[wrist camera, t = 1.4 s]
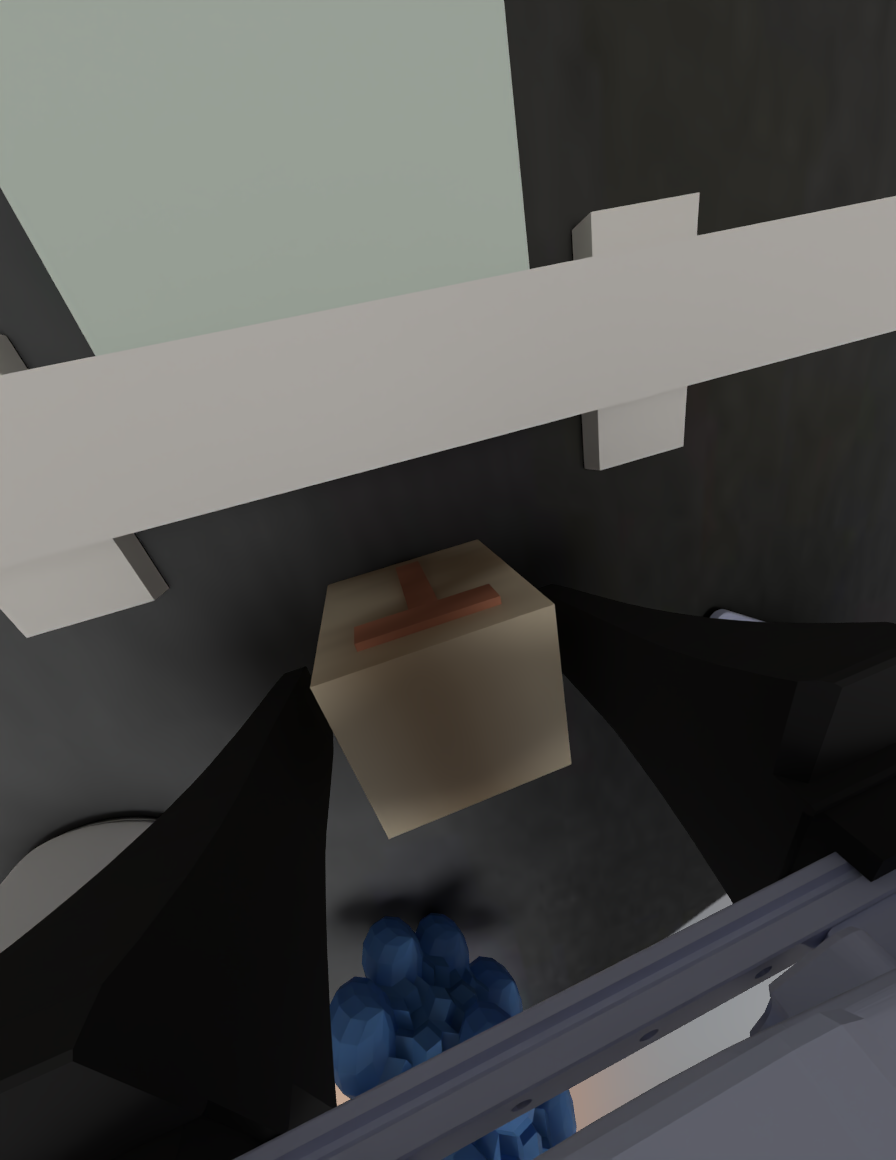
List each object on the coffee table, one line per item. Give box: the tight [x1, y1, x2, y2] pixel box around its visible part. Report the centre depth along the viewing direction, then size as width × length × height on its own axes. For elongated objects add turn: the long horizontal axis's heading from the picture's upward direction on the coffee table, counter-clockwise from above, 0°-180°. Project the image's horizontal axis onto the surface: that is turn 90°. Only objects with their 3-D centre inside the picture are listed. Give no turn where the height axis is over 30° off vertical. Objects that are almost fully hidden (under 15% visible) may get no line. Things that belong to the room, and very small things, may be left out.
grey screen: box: [0, 193, 896, 638], centre depth 7 cm, size 20×6×6 cm, turn 103°
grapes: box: [330, 913, 576, 1160], centre depth 14 cm, size 12×7×12 cm, turn 55°
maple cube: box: [310, 539, 571, 839], centre depth 10 cm, size 5×5×5 cm
